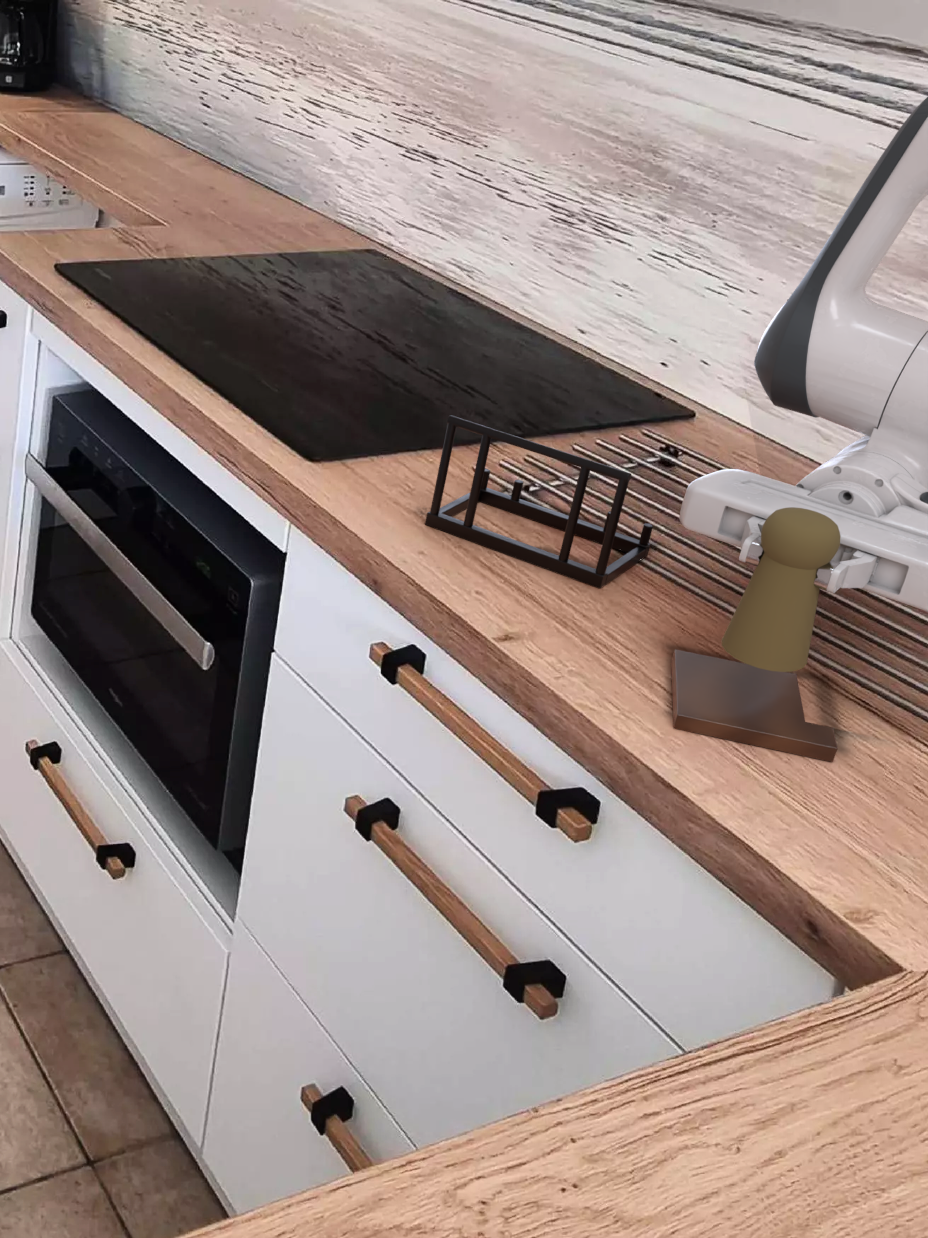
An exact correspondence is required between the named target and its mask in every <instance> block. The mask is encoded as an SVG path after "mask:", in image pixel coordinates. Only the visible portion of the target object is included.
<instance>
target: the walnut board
mask: <svg viewBox="0 0 928 1238" xmlns="http://www.w3.org/2000/svg"><path fill="white" fill-rule="evenodd" d="M670 663H671V664H670V665H671V691H672V692H671V693H672V696H671V697H672V718H673V720H672V722H673V723H672V724H673V729H676V730H681V731H685V732H690V733H694V734H699V735H703V736H709V737H712V738H716V739H717V738H718V739H722V740H727V741H732V742H737V743H740V744H745V745H750V746H755V747H759V748H764V749H769V750H774V751H778V752H783V753H788V754H792V755H797V756H802V757H807V758H811V759H816V760H820V761H825V762H830V763H834V761H835V758H836V754H837V752H838V744H837V739H836V735H835V729H834V727H832V726H828V725H822V724H818V723H812V722H808V721H806V717H805V712H804V707H803V700H802V696H801V690H800V686H799V685H800V684H799V680H798V674H797V673H794V672H778V671H770V670H765V669H760V668H757V667H754V666H751V665H748V664H745V663H743V662H741V661H735V660H730V659H725V658H720V657H716V656H711V655H705V654H701V653H695V652H690V651H687V650H681V649H674V651H673V654H672V658H671V660H670Z"/></svg>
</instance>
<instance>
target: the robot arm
mask: <svg viewBox="0 0 928 1238" xmlns="http://www.w3.org/2000/svg"><path fill="white" fill-rule="evenodd" d="M927 196H928V96H927V97H926V98H924V99H923V100H922V101H921V102H920V104H918V106H917V107H916V108H915V109H914V110H913V111H912V112H911V113H910V114H909V116H908V117H907V118H906V120H905V121H904V122H903V123H902V125H901V126H900V127H899V129H898V130H897V132H896V133H895V135H894V136H893V138H892V139H891V140H890V142H889V143H888V145H887V147H886V148H885V149H884V151H883V153H882V154H881V155H880V157H879V158H878V160H877V161H876V163H875V164H874V166H873V167H872V169H871V170H870V172H869V174H868V176H867V177H866V179H865V180H864V181H863V183H862V185H861V186H860V187H859V190H858V191H857V192H856V194H855V195H854V197H853V199H852V200H851V202H850V203H849V205H848V207H847V208H846V210H845V211H844V213H843V215H842V216H841V218H840V220H839V221H838V223H837V224H836V226H835V228H834V229H833V230H832V232H831V234H830V236H829V237H828V239H827V240H826V242H825V243H824V245H823V246H822V248H821V250H820V251H819V253H818V254H817V256H816V258H815V259H814V261H813V263H812V264H811V266H810V268H809V269H808V270H807V272H806V273H805V275H804V276H803V278H802V279H801V281H800V282H799V283H798V285H797V286H796V288H795V289H794V291H793V292H792V293H791V295H790V296H789V298H788V299H787V300H786V302H785V303H784V304H783V305H782V306H781V307H780V309H779V310H778V311H777V312H776V314H775V315H774V316H773V317H772V319H771V320H770V322H769V324H768V325H767V327H766V328H765V330H764V332H763V334H762V336H761V338H760V341H759V343H758V346H757V350H756V354H755V356H754V361H753V366H754V369H755V372H756V375H757V377H758V380H759V382H760V385H761V387H762V388H763V390H764V392H765V394H766V395H767V397H768V399H769V400H770V402H771V403H772V405H773V406H775V407H777V408H781V409H784V410H787V411H791V412H795V413H799V414H802V415H805V416H809V417H812V418H817V419H818V418H821V419H824V420H826V421H828V422H831V423H833V424H836V425H838V426H841V427H844V428H846V429H848V430H852V431H854V432H855V433H858V434H862V435H863V436H862V437H860V438H858V439H856V440H854V441H853V442H851V443H850V444H848V445H847V446H845V447H843V449H841V450H840V451H839V452H838V453H837V454H835V456H833V457H831V458H830V459H828V460H826V461H825V462H823V463H822V464H821V465H819V466H818V467H817V468H815V469H814V470H812V471H811V472H810V473H809V474H807V475H805V476H804V477H803V478H802V479H801V480H800V481H798V482H797V484H796V485H795V484H794V485H793V484H790V483H787V482H783V481H781V480H778V479H774V478H771V477H768V476H765V475H762V474H760V473H755V472H752V471H748V470H743V469H738V468H724V469H720V470H716V471H714V472H710V473H708V474H704V475H703V476H700V477H698V478H696V479H694V480H693V481H691V482H690V483H689V484H688V486H687V488H686V491H685V493H684V497H683V500H682V502H681V507H680V511H679V517H678V518H679V522H680V524H681V525H682V526H683V528H684V529H686V530H688V531H691V532H694V533H696V534H699V535H702V536H706V537H708V538H711V539H713V540H716V541H720V542H723V543H725V544H729V545H732V546H735V547H737V548H740V552H739V557H738V561H739V562H742V563H744V564H747V565H751V566H754V567H756V566H758V565H759V562H760V559H761V556H762V554H763V552H764V550H763V547H762V545H761V531H762V527H763V524H764V523H765V521H766V519H767V518H768V517H769V516H770V515H771V514H772V513H773V512H775V511H776V510H779V509H782V508H790V507H795V508H803V509H809V510H812V511H816V512H819V513H821V514H823V515H825V516H827V517H829V518H830V519H832V520H833V521H834V522H835V523H836V524H837V525H838V528H839V532H840V536H841V537H840V546H839V549H838V551H837V553H836V554H835V556H834V557H833V559H832V560H831V561H830V562H829V563H827V564H825V565H823V566H821V567H819V568H818V571H817V578H816V579H815V580H814V586H815V587H817V588H820V590H822V591H826V592H829V593H831V594H835V593H836V592H837V591H838V590H839V589H860V590H863V591H866V592H868V593H872V594H874V595H877V596H881V597H883V598H886V599H889V600H892V601H896V602H897V603H902V604H905V605H907V606H910V607H913V608H916V609H919V610H921V611H924V612H926V613H928V320H925V319H923V318H919V317H916V316H914V315H911V314H908V313H905V312H902V311H899V310H896V309H894V308H891V307H889V306H885V305H883V304H880V303H877V302H875V301H874V300H872V299H871V298H870V297H869V296H868V294H867V292H866V291H867V290H866V288H867V284H868V282H869V281H870V279H871V277H872V276H873V275H874V273H875V271H876V270H877V269H878V267H879V266H880V264H881V263H882V261H883V259H884V258H885V256H886V254H887V253H888V251H890V248H891V247H892V246H893V244H894V242H895V241H896V239H897V238H898V236H899V235H900V234H901V232H902V230H903V229H904V227H905V226H906V224H907V222H908V221H909V220H910V218H911V216H913V213H914V212H915V210H917V208H918V206H919V205H920V203H921V202H922V201H923V200H924V199H925V198H926V197H927Z"/></svg>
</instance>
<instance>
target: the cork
mask: <svg viewBox="0 0 928 1238" xmlns="http://www.w3.org/2000/svg"><path fill="white" fill-rule="evenodd" d="M840 537H841V536H840V532H839V528H838V525H837V524H836V523H835V522H834V521H833V520H832V519H830V518H829V517H827V516H825V515H823V514H821V513H819V512H816V511H812V510H809V509H803V508H795V507H790V508H782V509H779V510H776V511H775V512H773V513H772V514H771V515H770V516H769V517H768V518H767V519H766V521H765V523H764V524H763V527H762V531H761V545H762V547H763V550H764V552H763V554H762V556H761V559H760V562H759V565H758V566H755V569H754V571H753V573H752V575H751V577H750V579H749V581H748V583H747V585H746V587H745V590H744V592H743V594H742V596H741V598H740V600H739V602H738V604H737V607H736V609H735V611H734V613H733V615H732V617H731V619H730V621H729V623H728V625H727V627H726V630H725V632H724V634H723V636H722V638H721V647H722V648H723V649H724V651H725V652H726V653H727V654H728V655H730V656H731V657H732V658H734V659H735V660H737V661H738V662H740V663H745V664H748V665H751V666H754V667H757V668H760V669H765V670H770V671H778V672H789V673H792V672H797V671H799V670H802V669H805V667H806V666H807V664H808V659H809V653H810V647H811V643H812V636H813V630H814V625H815V620H816V612H817V607H818V602H819V595H820V590H821V589H820V588H817V587H815V586H814V580H815V579H816V578H817V571H818V568H819V567H821V566H823V565H825V564H827V563H829V562H830V561H831V560H832V559H833V557H834V556H835V554H836V553H837V551H838V549H839V546H840Z"/></svg>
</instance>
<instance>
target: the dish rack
mask: <svg viewBox="0 0 928 1238" xmlns="http://www.w3.org/2000/svg"><path fill="white" fill-rule="evenodd" d="M446 419H447V420H446V424H447V425H446V429H445V430H446V431H445V435H444V442H443V446H442V449H441V450H442V451H441V456H440V459H439V466H438V471H437V476H436V481H435V486H434V491H433V496H432V500H431V506H430V510H429V511H428V512H427V513H426V516H425V520H424V521H425V522H424V525H426V526H428V527H431V528H433V529H436V530H439V531H441V532H444V533H447V534H450V535H452V536H454V537H458V538H460V539H462V540H467V541H470V542H472V543H474V544H477V545H480V546H483V547H485V548H487V549H491V550H492V551H496V552H499V553H501V554H504V555H507V556H510V557H512V558H515V559H518V560H520V561H523V562H526V563H529V564H532V565H534V566H537V567H540V568H542V569H545V570H548V571H551V572H553V573H556V574H558V575H562V576H564V577H567V578H569V579H572V580H575V581H578V582H580V583H583V584H586V585H588V586H592V587H594V588H596V589H602V588H603V587H604V586H606V585H608V584H609V583H611V582H612V581H613V580H615V579H617V578H618V577H620V576H621V575H623V574H624V573H625V572H626V571H628V570H629V569H631V568H632V567H634V566H635V565H636V564H638V563H639V562H640V561H639V560H640V559H642V558H643V557H645V558H647V557H648V555H649V552H650V548H651V543H650V539H651V536H652V532H653V528H654V525H652V524H651V523H644V524H643V526H642V529H641V533H640V536H639V539H637V538H635V537H631V536H629V535H626V534H624V533H623V534H622V533H620V532H617V530H618V525H619V521H620V518H621V513H622V509H623V507H624V506H623V505H624V502H625V498H626V495H627V490H628V486H629V483H630V481H631V479H632V473H630V472H628V471H625V470H621V469H618V468H615V467H613V466H609V465H606V464H603V463H600V462H597V461H594V460H592V459H591V460H590V459H588V458H585V457H581V456H578V455H576V454H573V453H570V452H566V451H563V450H559V449H557V448H555V447H550V446H548V445H544V444H541V443H539V442H535V441H532V440H529V439H525V438H523V437H520V436H518V435H517V436H516V435H514V434H510V433H507V432H505V431H501V430H499V429H498V430H497V429H494V428H491V427H488V426H485V425H483V424H479V423H477V422H473V421H471V420H467V419H463V418H460V417H457V416H455V415H449V416H448V417H447V418H446ZM457 428H459V429H462V430H465V431H468V432H472V433H475V434H477V435H481V440H480V445H479V450H478V454H477V459H476V463H475V468H474V473H473V478H472V481H471V487H470V491H469V492H468V493H465V494H464V495H462V496H460V497H458V498H456V499H454V500H452V501H451V502H448V503H447V504H445V505H442V500H443V495H444V492H445V491H444V490H445V485H446V481H447V478H448V477H447V476H448V472H449V467H450V461H451V458H452V457H451V456H452V451H453V446H454V441H455V437H456V432H457ZM492 439H493V440H496V441H498V442H501V443H504V444H508V445H511V446H514V447H516V448H520V449H523V450H526V451H529V452H532V453H535V454H538V455H541V456H545V457H548V458H550V459H553V460H557V461H560V462H563V463H566V464H569V465H572V466H575V467H578V468H580V469H579V473H578V477H577V482H576V486H575V489H574V494H573V498H572V500H571V501H572V502H571V505H570V510H569V514H566V513H562V512H559V511H557V510H553V509H550V508H548V507H545V506H542V505H538V504H536V503H533V502H530V501H527V500H524V499H521V494H522V490H523V486H524V480H521V479H515V480H514V481H513V487H512V491H511V494H510V495H509V494H508V493H504V492H502V491H498V490H495V489H492V488H489V487H488V484H489V479H490V475H491V470H490V469H488V468H486V465H487V462H488V456H489V451H490V448H491V447H490V446H491V442H492ZM591 472H593V473H597V474H600V475H603V476H606V477H609V478H611V479H615V480H618V481H617V485H616V489H615V493H614V497H613V501H612V504H611V505H612V506H611V509H610V510H609V511H607V514H606V516H605V517H606V519H605V521H604V525H603V527H602V526H600V525H597V524H594V523H591V522H588V521H585V520H582V519H580V518H579V517H580V514H581V509H582V505H583V501H584V498H585V493H586V490H587V485H588V481H589V478H590V474H591ZM480 502H481V503H483V504H486V505H489V506H491V507H494V508H498V509H500V510H503V511H506V512H509V513H512V514H513V515H514V514H515V515H517V516H520V517H523V518H526V519H529V520H532V521H534V522H537V523H540V524H543V525H546V526H548V527H552V528H554V529H558V530H560V531H562V532H564V534H563V535H564V536H563V538H562V543H561V546H560V551H559V555H558V554H555V553H553V552H551V551H548V550H544V549H541V548H539V547H536V546H533V545H530V544H528V543H525V542H522V541H520V540H516V539H514V538H511V537H509V536H505V535H503V534H500V533H497V532H495V531H492V530H489V529H486V528H483V527H480V526H478V525H475V524H474V521H475V516H476V512H477V509H478V508H477V507H478V504H479V503H480ZM441 505H442V506H441ZM465 510H466V512H465V516H464V520H461V519H458V518H455V517H454V516H456V515H458V514H460V513H462V512H463V511H465ZM575 536H577V537H579V538H583V539H585V540H589V541H591V542H594V543H596V544H600V545H601V548H600V552H599V556H598V560H597V563H596V567H595V568H594V567H591V566H589V565H586V564H583V563H581V562H578V561H576V560H575V561H574V560H572V559H570V554H571V550H572V547H573V542H574V538H575ZM612 549H614V550H617V549H621V550H622V551H621V552H623V551H624V552H623V553H625V552H628V553H625V554H624V555H622V556H621V557H619V558H618V559H617V560H615V561H613V562H612V563H610V564H609V560H610V556H611V552H612ZM646 556H647V557H646ZM642 560H643V559H642ZM638 561H639V562H638ZM608 564H609V565H608Z"/></svg>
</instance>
